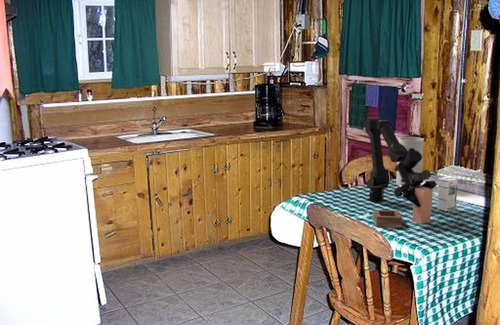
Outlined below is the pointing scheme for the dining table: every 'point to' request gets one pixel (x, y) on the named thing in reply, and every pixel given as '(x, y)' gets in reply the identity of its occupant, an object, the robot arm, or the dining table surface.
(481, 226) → the dining table surface
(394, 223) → the socket block
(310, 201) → the dining table surface
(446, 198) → the syrup box
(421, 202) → the square peg
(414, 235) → the dining table surface
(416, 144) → the cylinder vase
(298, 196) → the dining table surface
